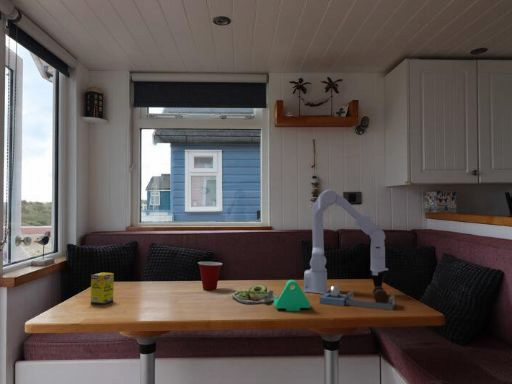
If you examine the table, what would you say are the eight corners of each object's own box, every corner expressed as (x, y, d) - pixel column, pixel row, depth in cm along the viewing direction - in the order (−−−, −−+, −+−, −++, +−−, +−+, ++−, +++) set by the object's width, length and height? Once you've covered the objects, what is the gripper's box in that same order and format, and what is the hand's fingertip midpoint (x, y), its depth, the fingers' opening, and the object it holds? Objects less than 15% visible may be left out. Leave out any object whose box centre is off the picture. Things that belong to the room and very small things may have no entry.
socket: (319, 303, 146) (319, 297, 146) (326, 298, 154) (326, 292, 154) (343, 306, 142) (343, 300, 142) (349, 300, 150) (349, 294, 150)
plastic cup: (227, 290, 169) (227, 262, 170) (204, 293, 163) (205, 264, 164) (215, 285, 178) (215, 259, 179) (193, 288, 172) (193, 261, 173)
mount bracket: (345, 304, 144) (345, 295, 144) (350, 300, 151) (350, 291, 151) (392, 310, 136) (392, 300, 137) (394, 304, 144) (394, 295, 144)
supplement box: (103, 305, 144) (103, 275, 144) (90, 304, 145) (90, 274, 146) (113, 301, 149) (114, 272, 150) (100, 300, 151) (101, 272, 151)
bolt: (380, 299, 159) (383, 307, 144) (369, 293, 160) (371, 300, 145) (387, 287, 158) (391, 294, 144) (376, 281, 160) (378, 287, 145)
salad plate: (287, 304, 146) (287, 292, 146) (242, 308, 141) (242, 295, 141) (270, 293, 164) (270, 282, 165) (229, 296, 159) (229, 285, 159)
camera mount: (305, 305, 144) (305, 277, 145) (310, 310, 137) (309, 281, 137) (273, 305, 143) (273, 277, 144) (276, 311, 136) (276, 281, 136)
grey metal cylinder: (329, 302, 147) (329, 286, 147) (331, 300, 150) (331, 285, 150) (338, 303, 146) (338, 287, 146) (340, 301, 149) (340, 285, 149)
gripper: (385, 260, 153) (385, 294, 152) (390, 255, 166) (390, 287, 165) (367, 259, 156) (367, 293, 155) (373, 254, 169) (373, 286, 168)
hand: (378, 290), depth 160 cm, fingers closed
